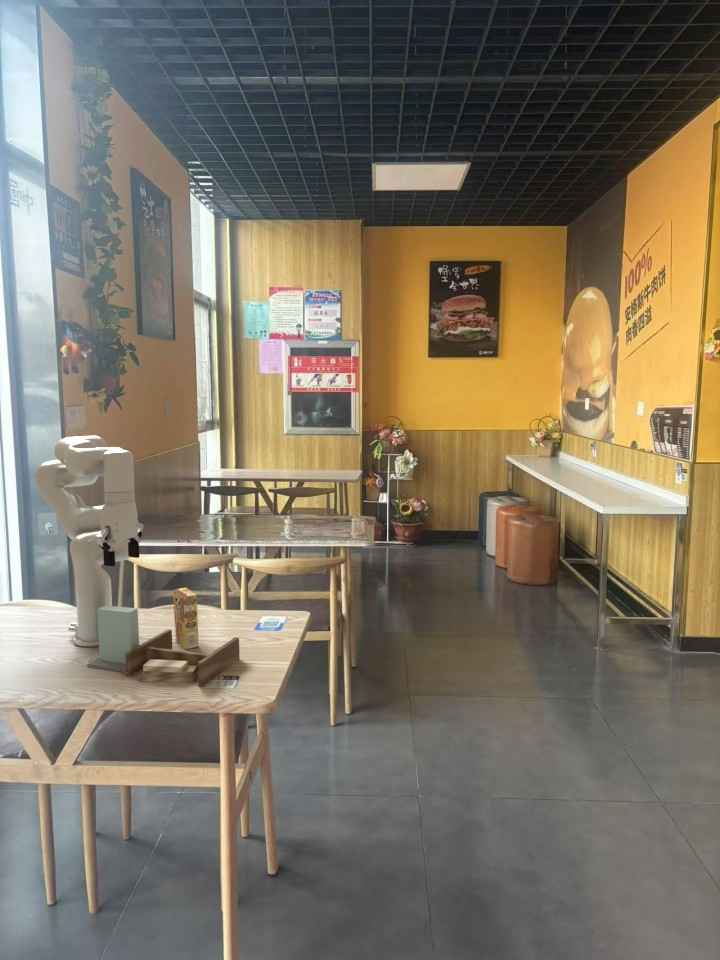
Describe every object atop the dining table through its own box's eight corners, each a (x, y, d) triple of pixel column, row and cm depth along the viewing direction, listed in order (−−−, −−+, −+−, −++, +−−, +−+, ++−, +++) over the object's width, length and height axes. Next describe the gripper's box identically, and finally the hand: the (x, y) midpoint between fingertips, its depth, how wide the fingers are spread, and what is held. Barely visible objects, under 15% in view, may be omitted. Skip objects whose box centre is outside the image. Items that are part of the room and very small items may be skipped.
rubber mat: (87, 666, 188) (87, 663, 188) (111, 653, 198) (111, 650, 198) (129, 672, 184) (129, 669, 184) (152, 658, 194) (152, 656, 194)
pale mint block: (99, 660, 191) (97, 608, 189) (108, 655, 194) (105, 605, 192) (131, 664, 188) (129, 612, 186) (139, 659, 191) (137, 608, 189)
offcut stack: (138, 682, 179) (137, 666, 179) (146, 674, 184) (145, 658, 184) (193, 684, 178) (192, 667, 177) (199, 675, 183) (199, 659, 182)
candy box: (199, 647, 203) (197, 594, 201) (185, 650, 200) (183, 596, 198) (188, 638, 210) (186, 587, 208) (174, 640, 208) (172, 589, 206)
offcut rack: (126, 675, 182) (125, 653, 181) (168, 650, 200) (167, 629, 199) (202, 686, 175) (201, 663, 174) (239, 659, 193) (239, 637, 192)
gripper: (129, 492, 197) (131, 553, 200) (84, 501, 181) (87, 567, 183) (152, 493, 195) (154, 555, 197) (108, 503, 179) (111, 570, 181)
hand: (122, 561), depth 190 cm, fingers open, 9 cm apart
